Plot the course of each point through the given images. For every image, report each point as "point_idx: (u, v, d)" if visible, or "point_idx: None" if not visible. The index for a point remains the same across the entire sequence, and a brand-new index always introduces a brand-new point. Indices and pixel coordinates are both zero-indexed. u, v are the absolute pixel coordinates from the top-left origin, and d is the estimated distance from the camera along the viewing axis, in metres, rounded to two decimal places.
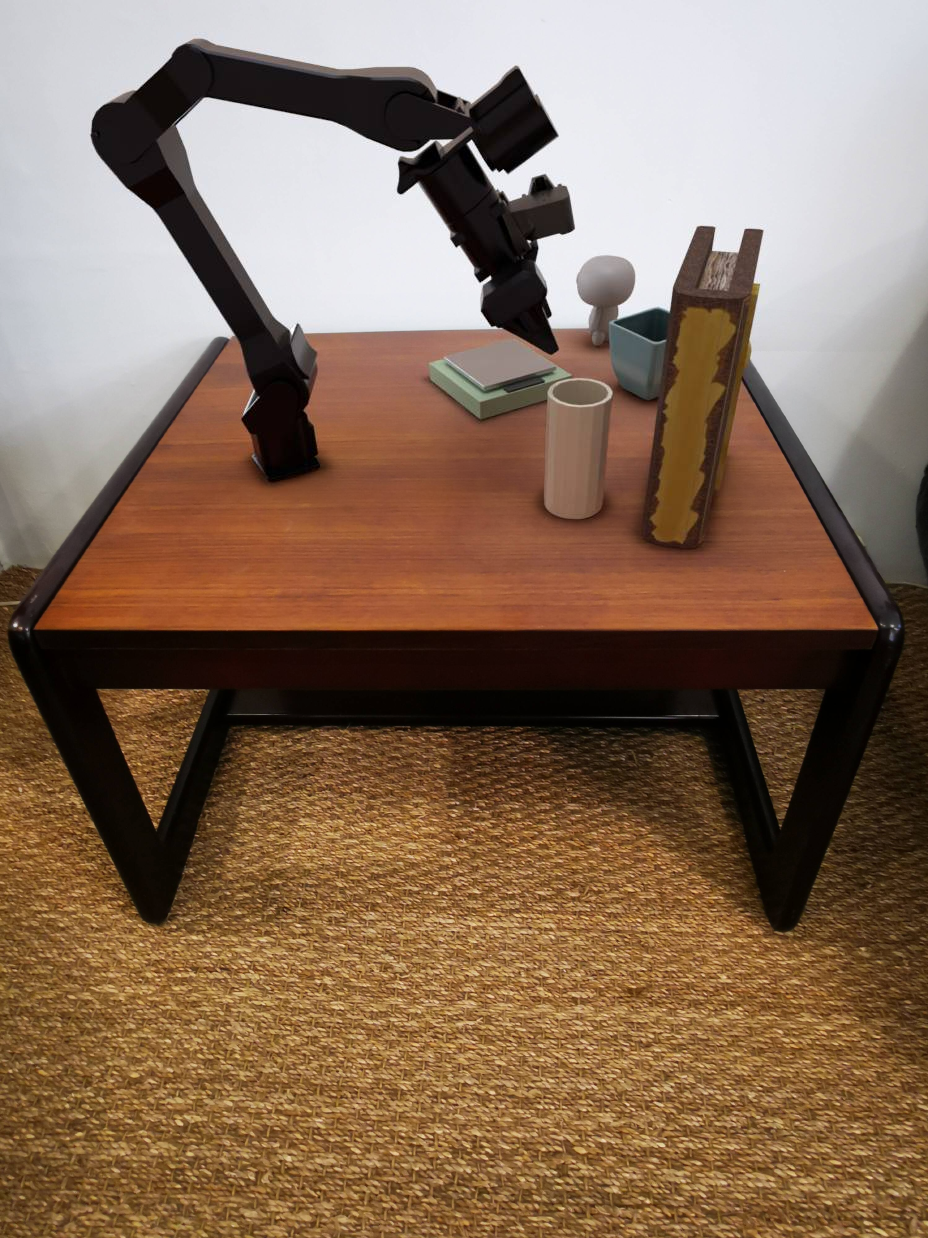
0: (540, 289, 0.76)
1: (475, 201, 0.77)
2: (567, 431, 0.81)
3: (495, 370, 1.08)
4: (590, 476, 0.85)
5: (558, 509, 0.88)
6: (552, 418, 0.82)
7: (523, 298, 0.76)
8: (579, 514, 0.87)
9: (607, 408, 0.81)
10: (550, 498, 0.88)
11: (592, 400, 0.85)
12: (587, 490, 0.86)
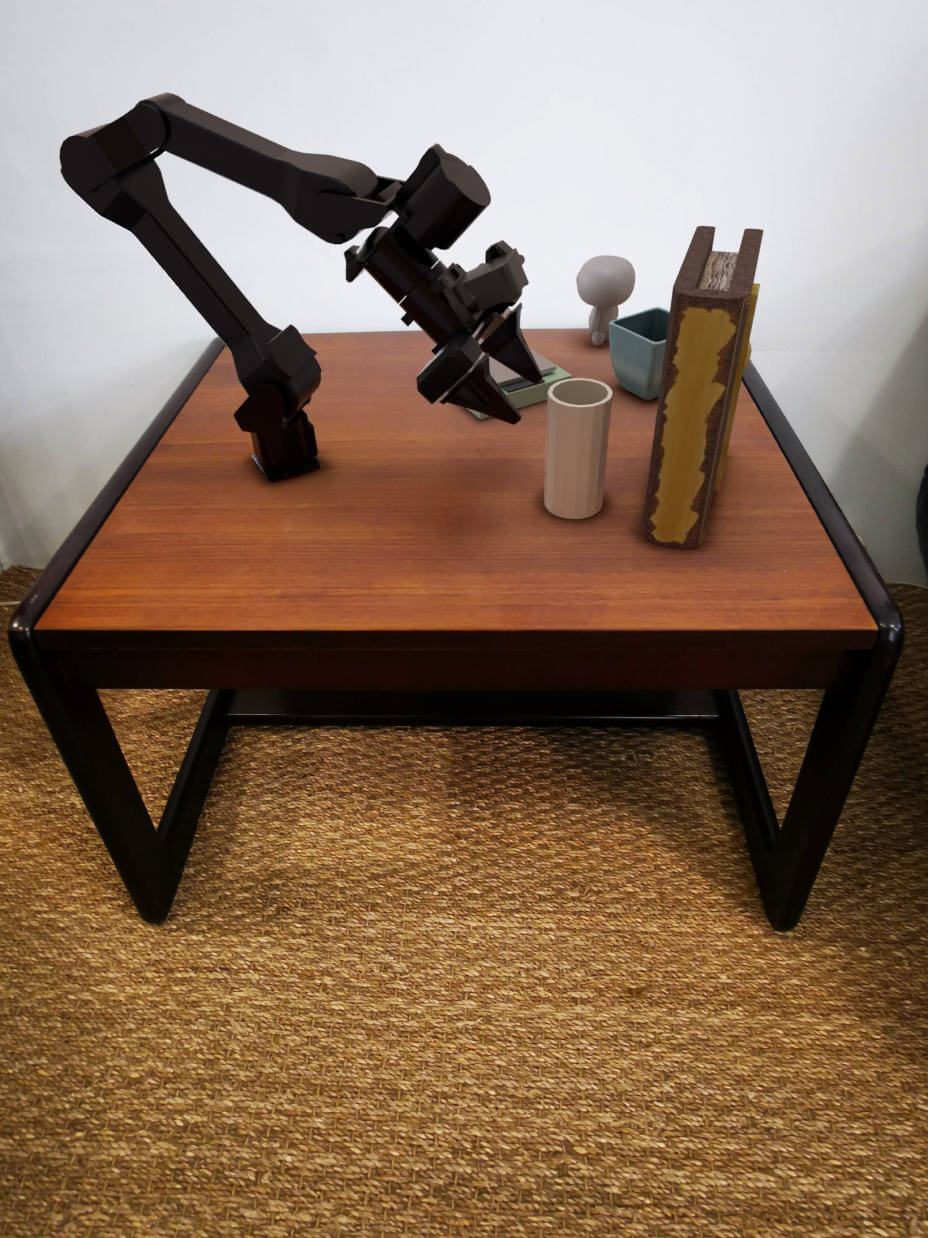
0: (466, 365, 0.73)
1: (413, 281, 0.77)
2: (567, 431, 0.81)
3: (495, 370, 1.08)
4: (590, 476, 0.85)
5: (558, 509, 0.88)
6: (552, 418, 0.82)
7: (451, 375, 0.74)
8: (579, 514, 0.87)
9: (607, 408, 0.81)
10: (550, 498, 0.88)
11: (592, 400, 0.85)
12: (587, 490, 0.86)
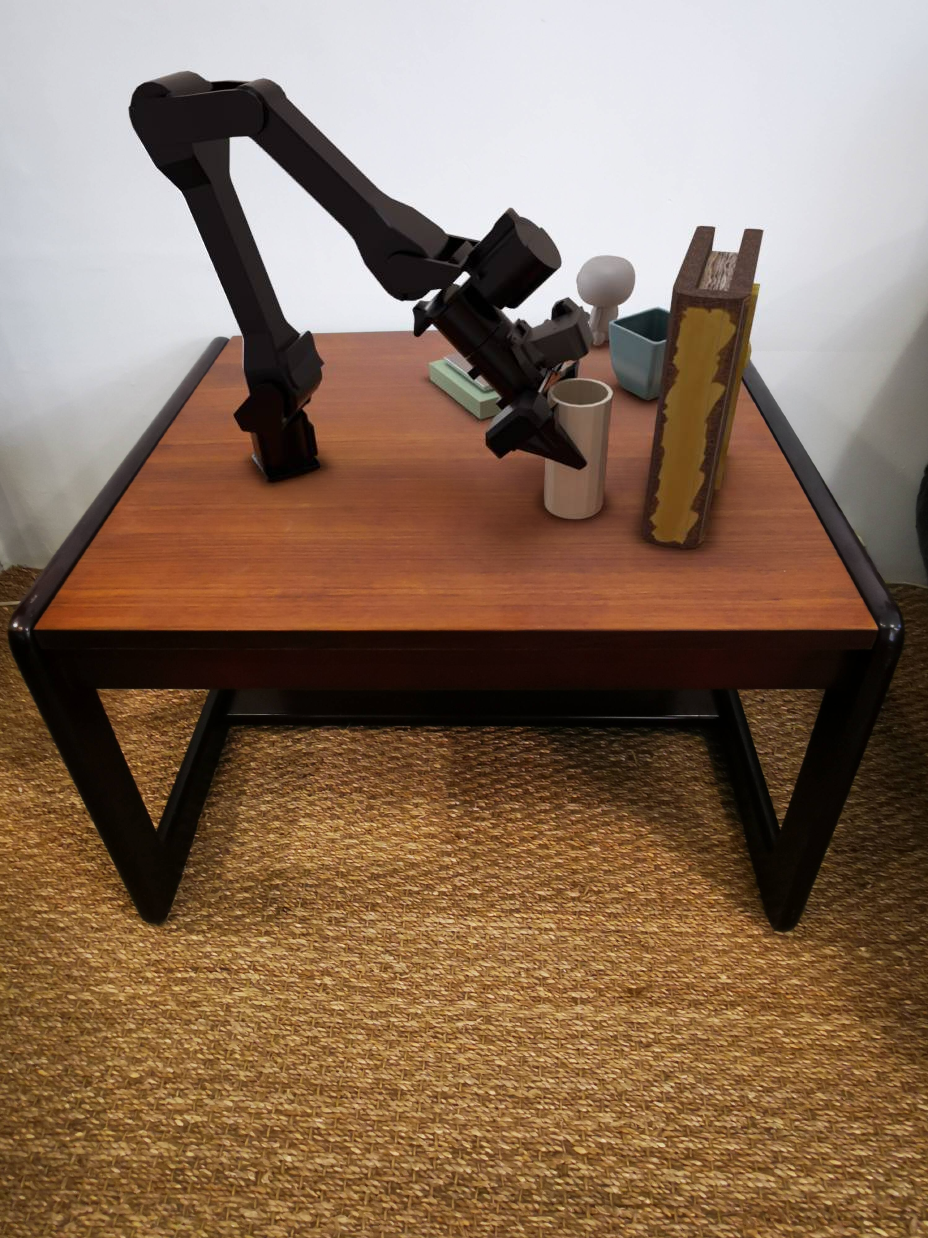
0: (536, 423, 0.75)
1: (482, 338, 0.78)
2: (567, 431, 0.81)
3: None
4: (590, 476, 0.85)
5: (558, 509, 0.88)
6: None
7: (521, 432, 0.76)
8: (579, 514, 0.87)
9: (607, 408, 0.81)
10: (550, 498, 0.88)
11: (592, 400, 0.85)
12: (587, 490, 0.86)
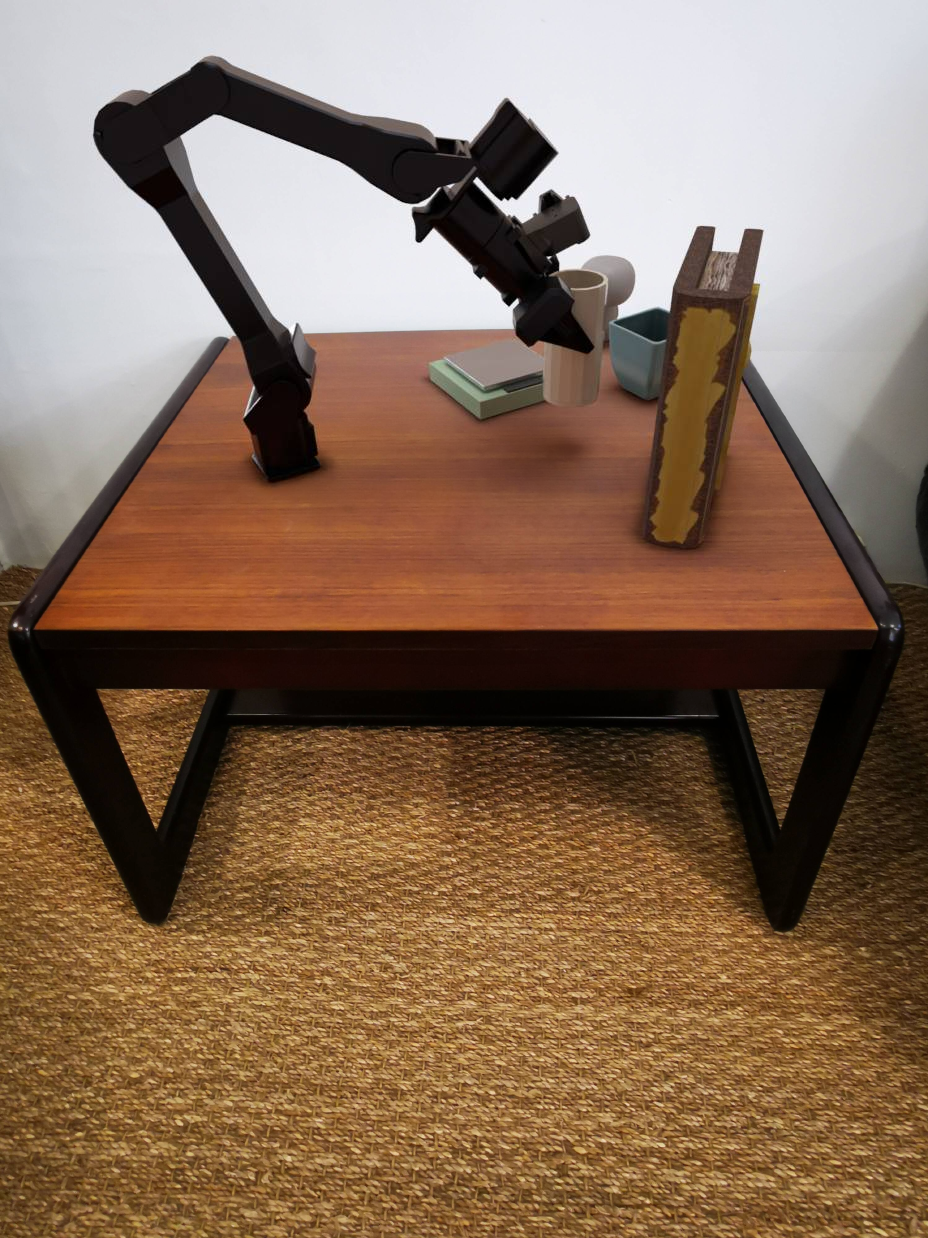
0: (569, 302, 0.79)
1: (491, 233, 0.80)
2: (575, 316, 0.86)
3: (495, 370, 1.08)
4: (594, 360, 0.90)
5: (565, 399, 0.92)
6: None
7: (554, 314, 0.79)
8: (585, 401, 0.92)
9: (606, 289, 0.86)
10: (555, 390, 0.92)
11: None
12: (592, 375, 0.91)
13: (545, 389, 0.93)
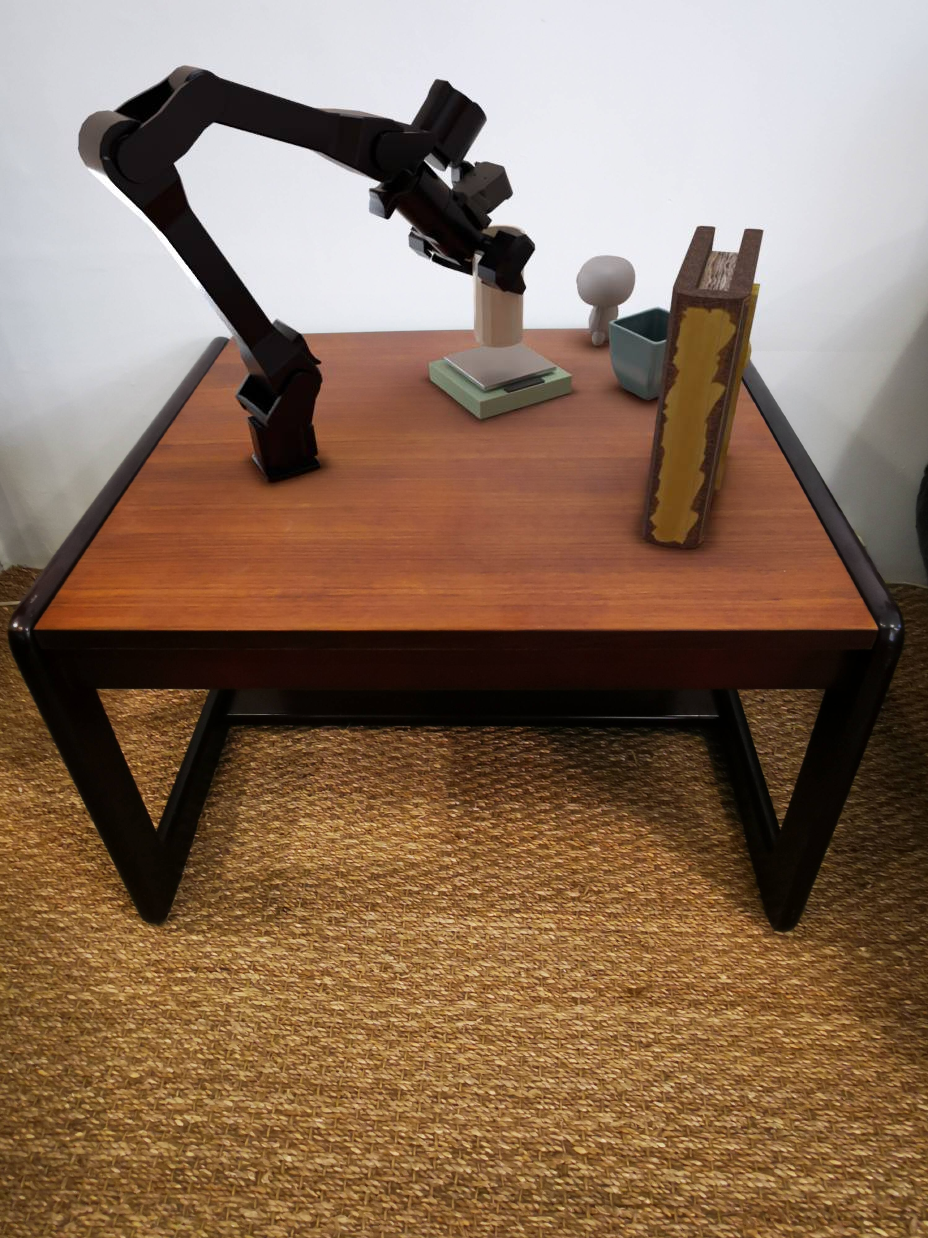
0: (533, 245, 0.92)
1: (446, 200, 0.90)
2: None
3: (495, 370, 1.08)
4: (523, 299, 1.04)
5: (506, 340, 1.05)
6: None
7: (523, 258, 0.92)
8: (519, 337, 1.06)
9: None
10: (497, 334, 1.04)
11: None
12: (522, 313, 1.05)
13: (484, 336, 1.05)
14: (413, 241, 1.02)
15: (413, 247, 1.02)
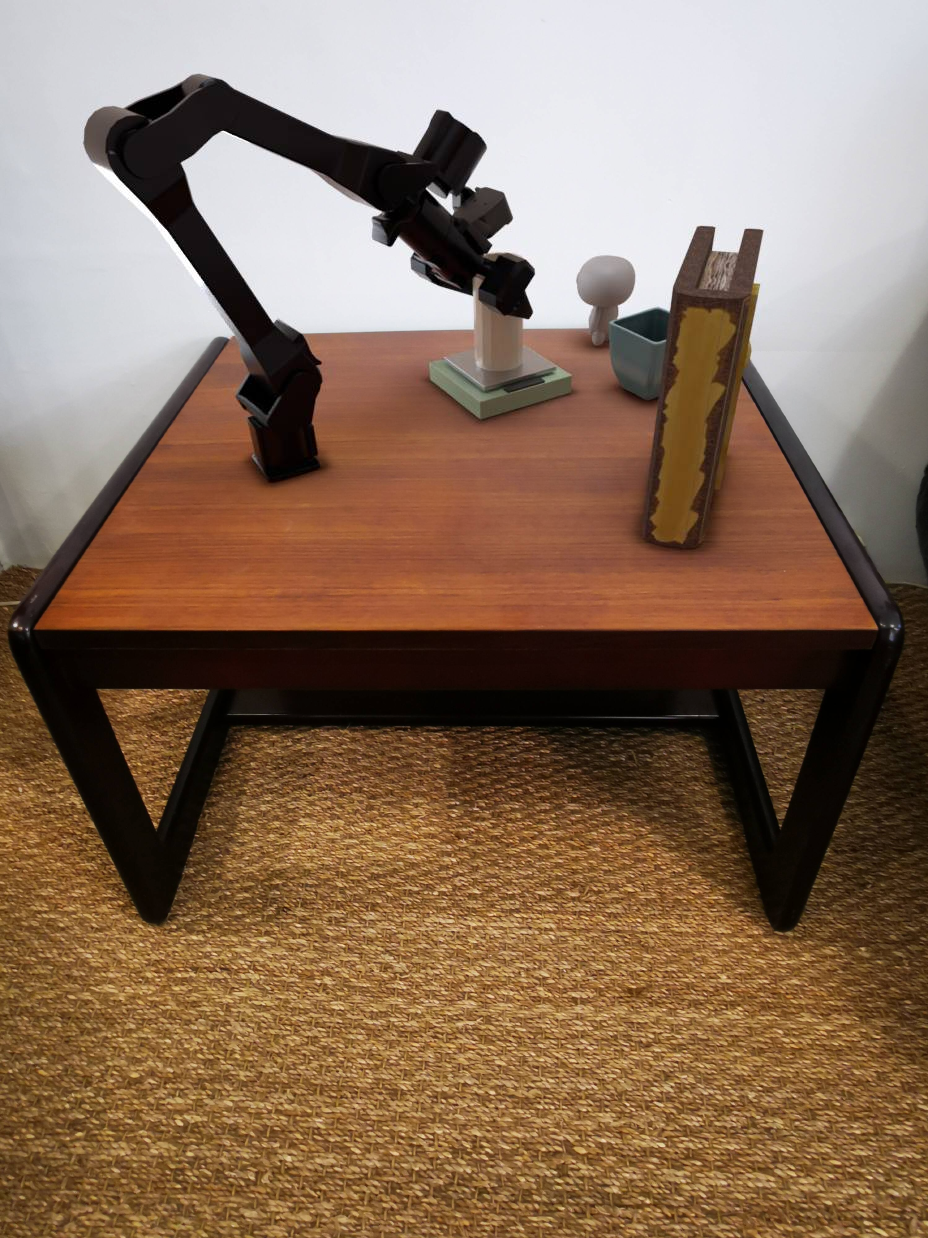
0: (532, 270, 0.94)
1: (448, 226, 0.92)
2: None
3: None
4: (522, 324, 1.06)
5: (506, 364, 1.07)
6: None
7: (523, 282, 0.94)
8: (519, 361, 1.08)
9: None
10: (497, 358, 1.07)
11: None
12: (522, 338, 1.07)
13: (484, 360, 1.07)
14: (415, 264, 1.04)
15: (415, 270, 1.04)
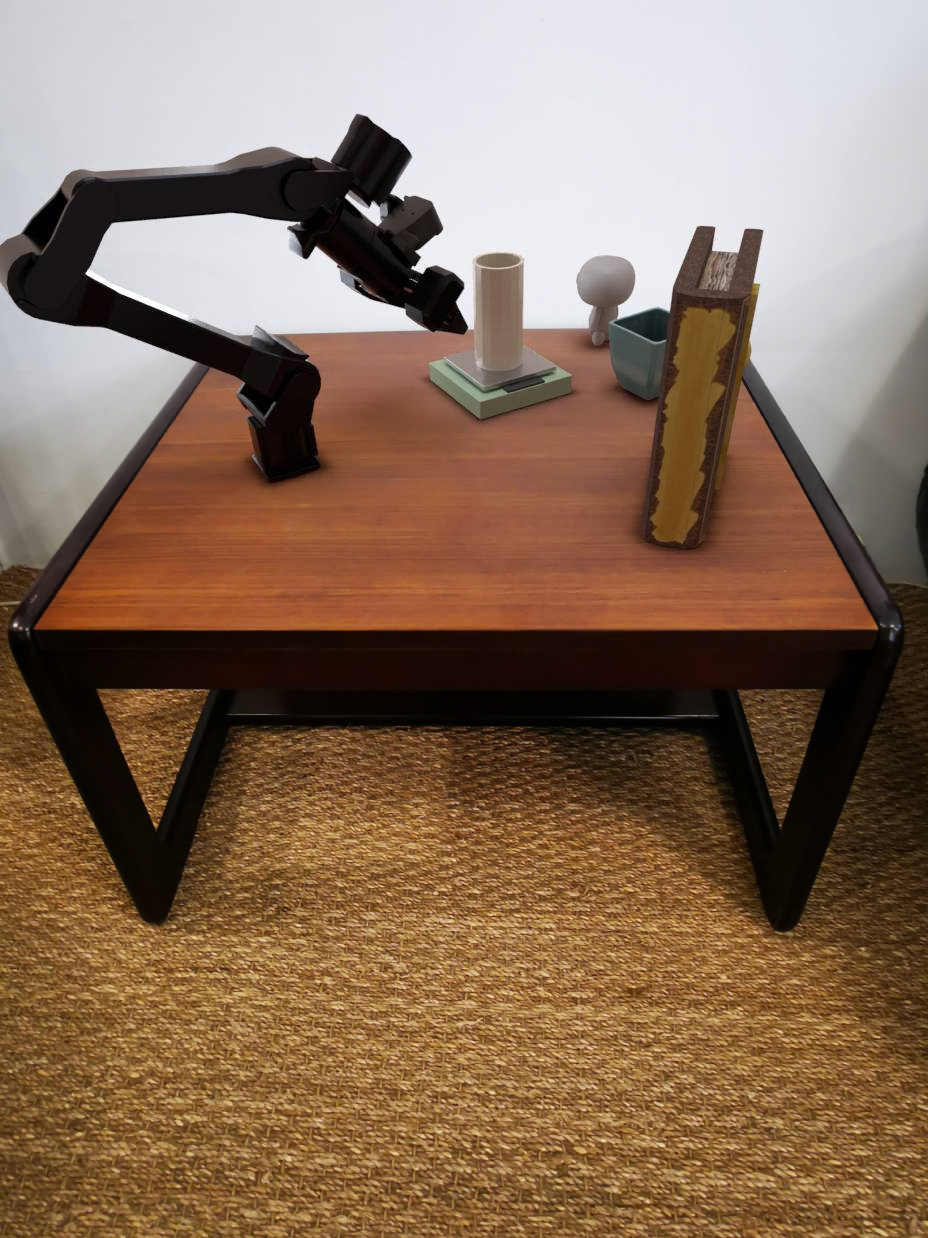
0: (461, 284, 0.89)
1: (370, 238, 0.87)
2: (510, 290, 1.01)
3: None
4: (522, 324, 1.06)
5: (506, 364, 1.07)
6: (495, 285, 1.01)
7: (452, 297, 0.89)
8: (519, 361, 1.08)
9: None
10: (497, 358, 1.07)
11: None
12: (522, 338, 1.07)
13: (484, 360, 1.07)
14: (344, 276, 0.98)
15: (345, 282, 0.99)
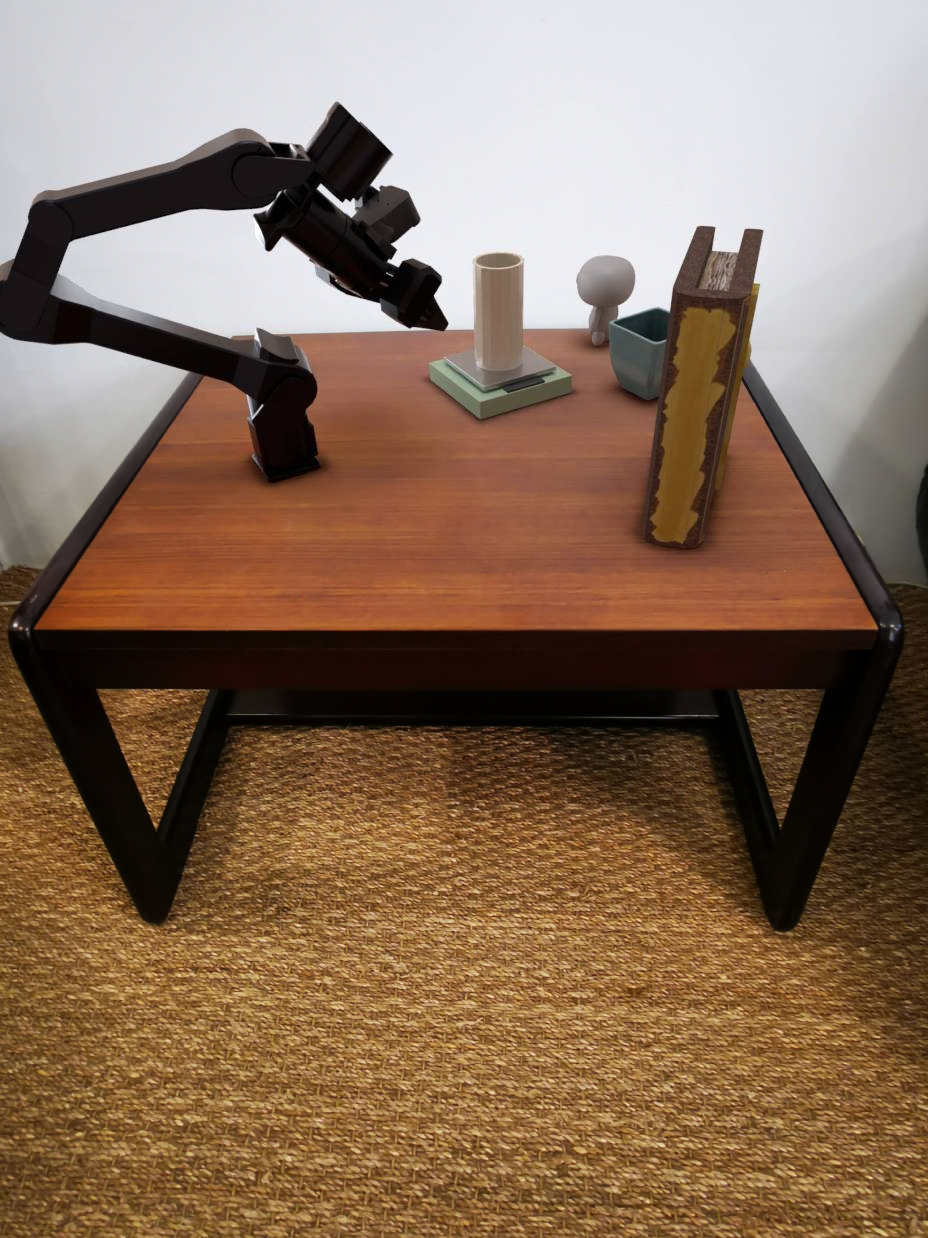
0: (439, 278, 0.84)
1: (339, 236, 0.82)
2: (510, 290, 1.01)
3: None
4: (522, 324, 1.06)
5: (506, 364, 1.07)
6: (495, 285, 1.01)
7: (429, 292, 0.84)
8: (519, 361, 1.08)
9: None
10: (497, 358, 1.07)
11: None
12: (522, 338, 1.07)
13: (484, 360, 1.07)
14: (319, 270, 0.94)
15: (320, 277, 0.95)
